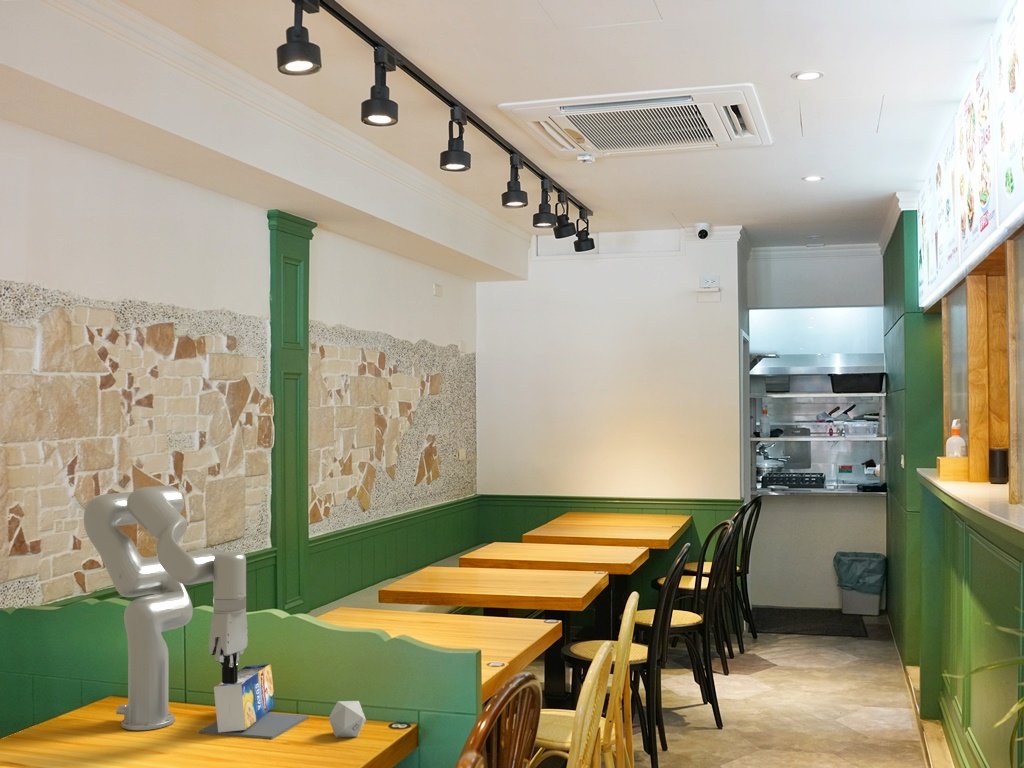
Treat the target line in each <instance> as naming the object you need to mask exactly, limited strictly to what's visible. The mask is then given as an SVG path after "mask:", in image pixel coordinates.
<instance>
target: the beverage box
mask: <svg viewBox="0 0 1024 768" xmlns="http://www.w3.org/2000/svg"><path fill="white" fill-rule="evenodd" d="M273 680H274V679H273V672H272V664H271V663H265V664H255V665H246V666H244V667H242V668H241V669H239V670H238V682H237V683H234V684H223V683H222V681H221V682H219V683H218V684H216V685H214V686H213V692H214V704H215V714H216V722H217V726H218V733H219V732H228V731H238V730H246V729H247V728H249V727H250V726H251V725H252V724H253V723H255V722H256V721H257V720H258V719H259V718H261V717H262V716H263V715H264V714H265V713H269V711H270V710H272V709H273V708H274V707H276V701H275V693H274V692H275V691H274V681H273Z"/></svg>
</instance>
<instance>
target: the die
mask: <svg viewBox="0 0 1024 768" xmlns="http://www.w3.org/2000/svg"><path fill="white" fill-rule="evenodd" d="M328 721H329V723H330V726H331V728H332V731H333V733H334V736H335V738H358V737H359V735H360V733H361V731H362V728H363V727H364V725H365V722H366V721H367V718H366V716H365V713H364V711H363V708H362V705H361V703H360V701H359V700H343V701H342V700H341V701H340V700H339V701H337V702H336V704H335V705H334V708H333V709H332V711H331V712H330V714H329V716H328ZM357 736H358V737H357Z"/></svg>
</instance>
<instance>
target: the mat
mask: <svg viewBox="0 0 1024 768" xmlns="http://www.w3.org/2000/svg"><path fill="white" fill-rule="evenodd" d="M307 719H309V715H308V714H307V715H306V714H294V713H292V714H291V713H281V712H279V713H278V712H267V713H265V714H264V715H263V716H262V717H261V718H259V719H258V720H257V721H256V722H255V723H253V724H252V725H251V726H250V727H249V728H247V729H246V730H238V731H228V732H219V733H218V726H217V721H215V722H213V723H211V724H209V725H207V726H205V727H203V728H201V729H199V730H198V734H203V735H216V736H229V737H230V736H231V737H242V738H253V739H265V740H266V739H267V740H273V739H275V738H277V737H279V736H280V735H283V734H285V732H287V731H289V730H290V729H293V727H296V726H297V725H299V724H301V723H303V722H304V721H306V720H307Z"/></svg>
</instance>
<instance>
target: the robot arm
mask: <svg viewBox="0 0 1024 768" xmlns="http://www.w3.org/2000/svg"><path fill="white" fill-rule="evenodd" d="M184 506H185V499H184V495H183V494H182V492H181V491H180V490H179V489H178V488H177V487H176V486H172V485H155V486H152V485H151V486H144V487H139V488H137V489H135V490H133V491H130V492H116V493H107V494H106V493H105V494H101V495H97V496H95V497H93V498H92V499H91V500H90V501H88V502H87V504H86V506H85V508H84V513H83V525H84V530H85V532H86V535H87V537H88V539H89V541H90V543H91V544H92V546H94V548H95V549H96V551H97V553H98V555H99V556H100V558H101V560H102V562H103V564H104V566H105V570H107V573H108V575H109V577H110V579H111V582H112V584H113V586H114V588H115V589H116V591H117V593H118V594H119V595H120V596H121V597H124V598H134V599H133V600H132V601H131V602H130V603H128V605H127V606H126V607H125V610H124V614H123V621H124V627H125V631H126V633H125V634H126V638H127V657H128V658H127V659H128V660H127V661H128V663H127V665H128V666H127V667H128V668H127V671H128V673H127V681H128V682H127V686H128V687H127V692H128V693H127V694H128V695H127V700H128V701H127V704H119V705H118V707H117V709H116V711H115V714H116V715H123V717H124V718H123V719H122V720H121V725H120V727H121V728H123V729H125V730H126V731H127V730H128V731H149V730H155V729H161V728H165V727H167V726H170V725H172V724H174V722H175V721H176V716H175V714H173V713H171V712H169V693H170V692H169V686H170V685H169V681H170V680H169V672H170V671H169V669H170V668H169V658H170V657H169V647H168V644H167V642H166V641H165V639H164V638H163V634H162V632H163V633H164V632H167V631H171V630H176V629H178V628H179V629H180V628H182V627H185V626H186V625H187V624H189V623H190V621H191V620H192V617H193V613H194V612H193V611H194V608H193V603H192V600H191V597H190V594H189V593H188V590H187V589H186V587H185V586H190V585H196V584H202V583H208V582H213V588H212V589H213V590H212V591H213V595H212V596H213V599H212V601H213V610H212V611H213V612H212V614H211V619H210V628H209V639H208V641H209V642H208V652H209V655H210V656H214V657H215V658H214V662H215V663H220V667H221V682H222V683H223V684H234V683H237V682H238V671H239V670H238V669H239V668H238V665H240V657H241V655H242V654H244V652H245V649H246V648H247V647H248V644H249V643H248V641H249V638H248V636H249V633H248V632H249V630H248V616H247V558H246V555H245V554H244V553H242V552H239V551H226V550H223V549H215V548H213V549H206V550H198V551H192V552H191V551H190V552H187V551H185V550H184V549H183V548H182V547H181V546H180V545H179V544H178V543H177V542H179V540H180V539H181V538H182V537H183V536H184V535H185V533H186V531H187V528H188V522H187V519H186V518H185V517H184V515H182V514H181V513H182V512H183V510H184ZM138 524H140V526H142V527H143V529H145V531H146V532H147V533H148V534H150V536H151V537H152V538H153V539H154V540H155V541H156V555H155V556H147V557H144V556H142V555H141V554H140V552H139V550H138V549H137V547H136V545H135V542H134V541H133V539H132V538H131V537H130V536H129V535H128V534H127V533H125V532H124V531H122V530H121V529H120V528H119V527H118V526H120V527H121V526H129V525H138ZM136 597H137V598H136ZM135 598H136V599H135Z"/></svg>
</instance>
